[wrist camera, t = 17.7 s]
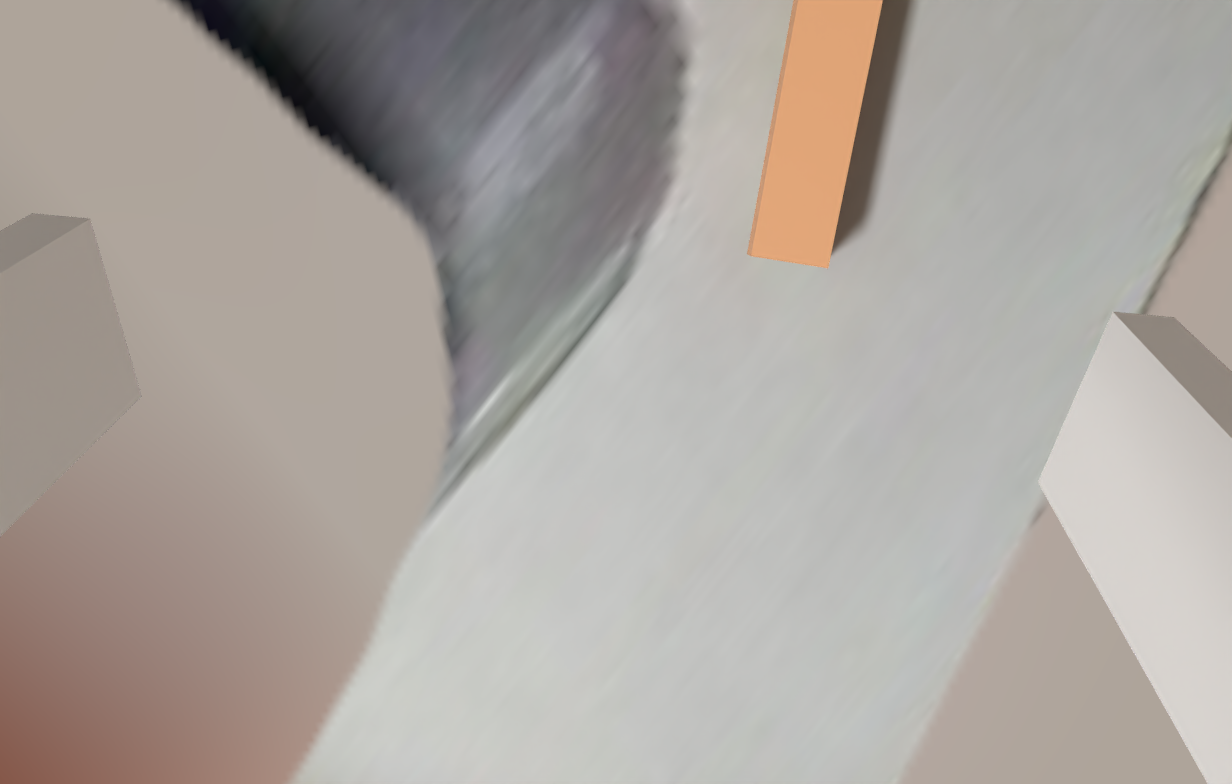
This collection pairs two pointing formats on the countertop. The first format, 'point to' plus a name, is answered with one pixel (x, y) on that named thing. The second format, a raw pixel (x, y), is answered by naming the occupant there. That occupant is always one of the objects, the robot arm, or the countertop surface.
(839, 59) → the orange bar
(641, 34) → the countertop surface
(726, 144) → the countertop surface
